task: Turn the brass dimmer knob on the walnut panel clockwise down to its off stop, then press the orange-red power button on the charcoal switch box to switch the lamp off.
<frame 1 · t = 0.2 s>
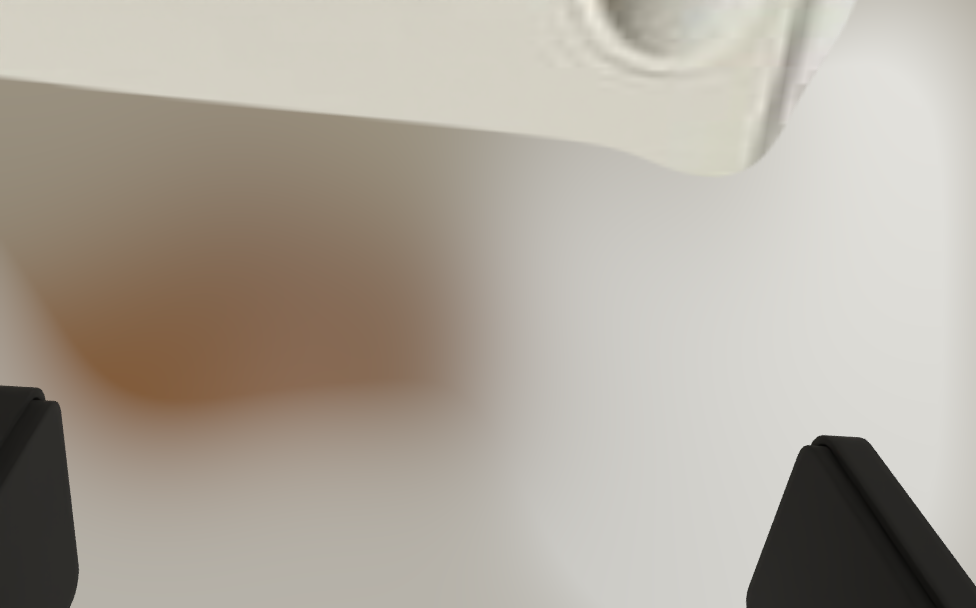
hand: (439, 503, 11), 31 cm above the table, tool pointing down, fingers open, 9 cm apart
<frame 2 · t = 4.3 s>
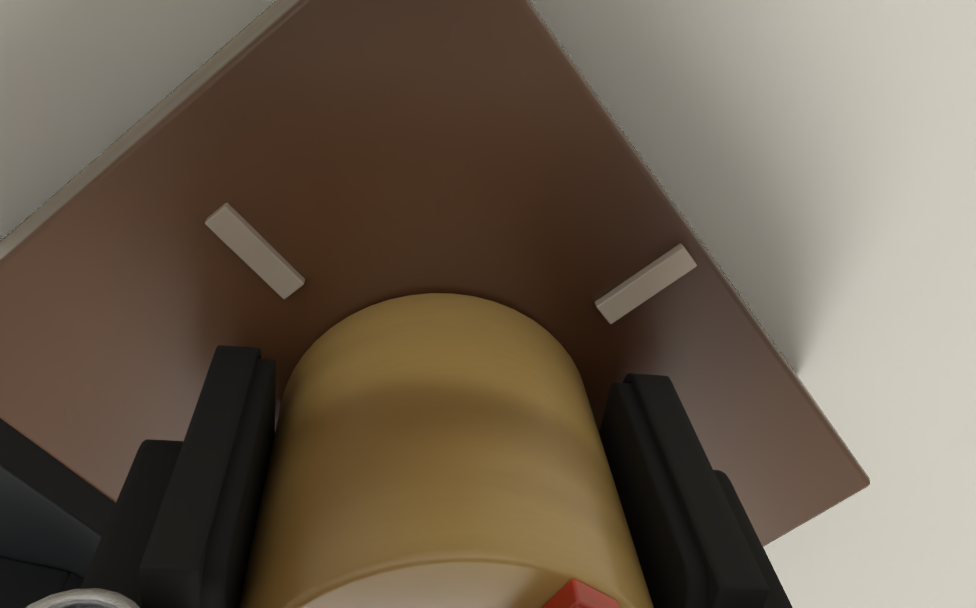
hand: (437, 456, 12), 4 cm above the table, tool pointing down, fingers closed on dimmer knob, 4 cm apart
dimmer knob: (442, 554, 11), point 6 cm above the table, hinge at 105.1°, touching gripper
dimmer: (430, 320, 15), on the table
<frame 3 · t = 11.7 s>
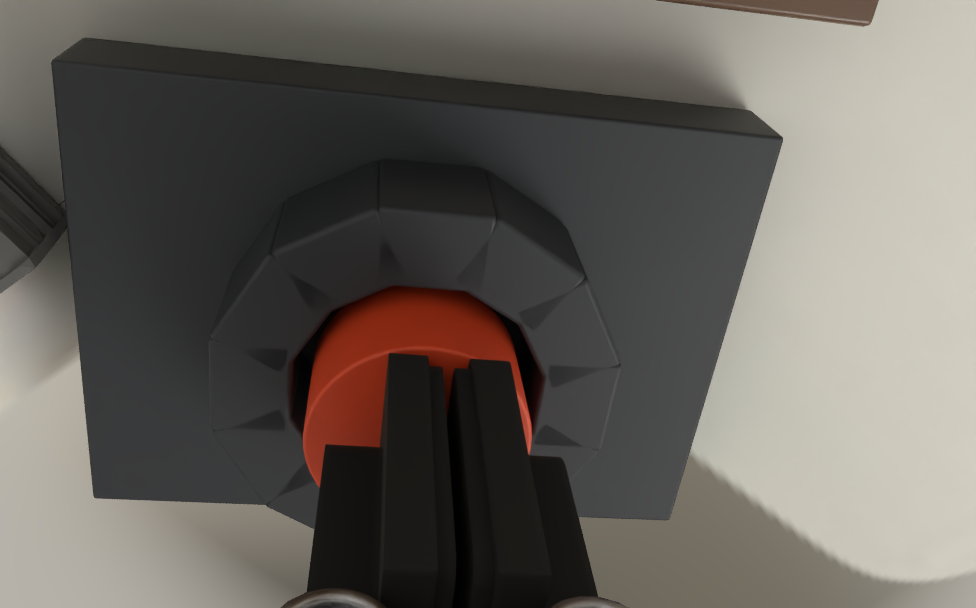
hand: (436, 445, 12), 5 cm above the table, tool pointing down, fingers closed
power button: (417, 404, 13), point 4 cm above the table, slide at -0.3 cm, touching gripper
switch box: (412, 290, 16), on the table
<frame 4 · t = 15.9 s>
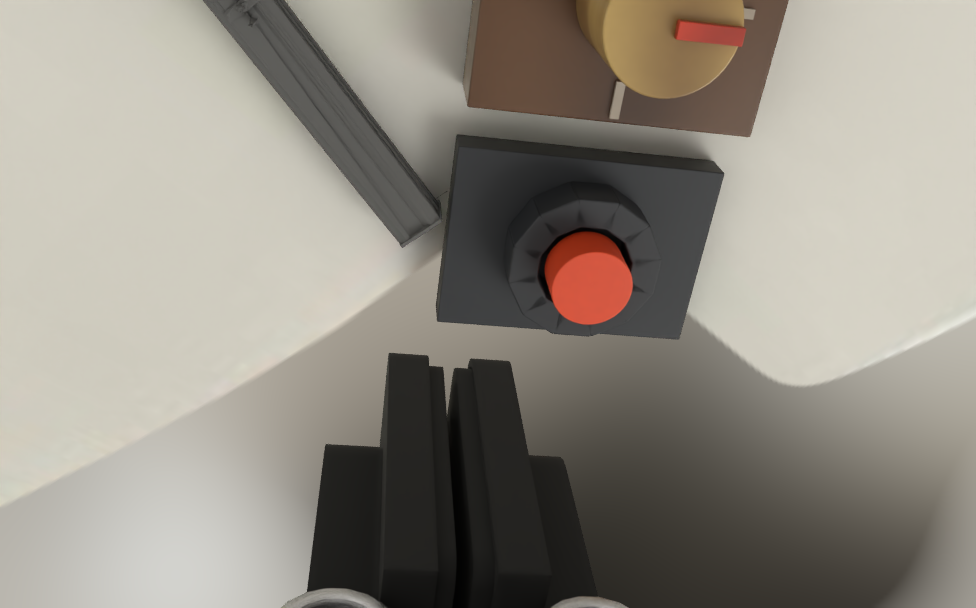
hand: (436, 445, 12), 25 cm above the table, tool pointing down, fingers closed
dimmer knob: (655, 13, 29), point 6 cm above the table, hinge at 0.6°
power button: (587, 277, 35), point 4 cm above the table, slide at 0.1 cm
switch box: (570, 235, 39), on the table
dark grey long bar: (283, 24, 34), on the table
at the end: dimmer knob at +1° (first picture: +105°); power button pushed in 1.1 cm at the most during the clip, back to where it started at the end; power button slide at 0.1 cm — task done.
